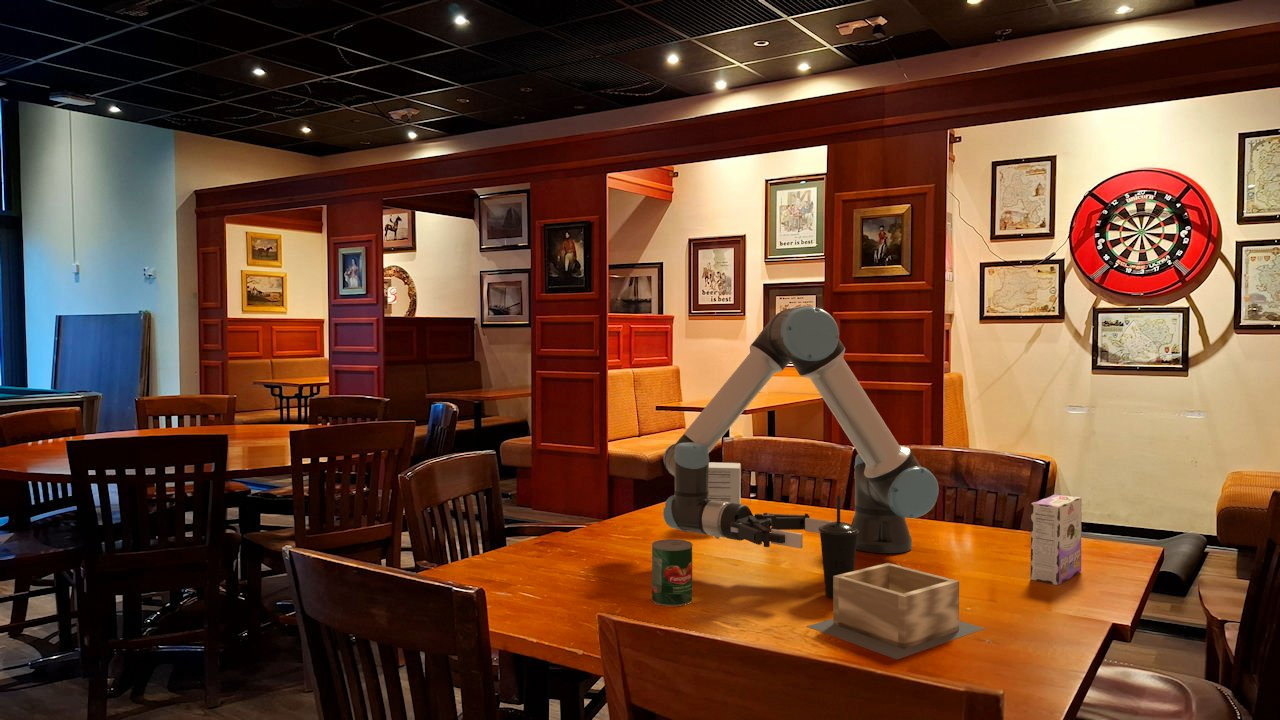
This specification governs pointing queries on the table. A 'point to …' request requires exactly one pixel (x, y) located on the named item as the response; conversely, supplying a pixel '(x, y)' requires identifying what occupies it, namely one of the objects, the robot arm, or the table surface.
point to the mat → (885, 647)
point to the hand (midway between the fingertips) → (818, 534)
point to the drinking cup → (837, 549)
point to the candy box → (1055, 539)
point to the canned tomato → (672, 572)
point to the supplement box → (725, 482)
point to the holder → (896, 604)
